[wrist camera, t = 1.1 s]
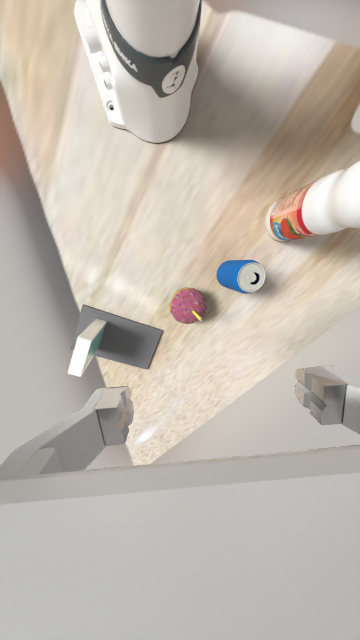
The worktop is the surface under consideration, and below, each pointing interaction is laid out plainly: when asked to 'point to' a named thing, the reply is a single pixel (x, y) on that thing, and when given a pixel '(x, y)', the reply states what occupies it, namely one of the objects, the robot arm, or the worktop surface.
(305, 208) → the fruit juice
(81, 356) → the tile
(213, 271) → the worktop surface
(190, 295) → the cupcake
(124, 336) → the mat
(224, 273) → the beverage can
